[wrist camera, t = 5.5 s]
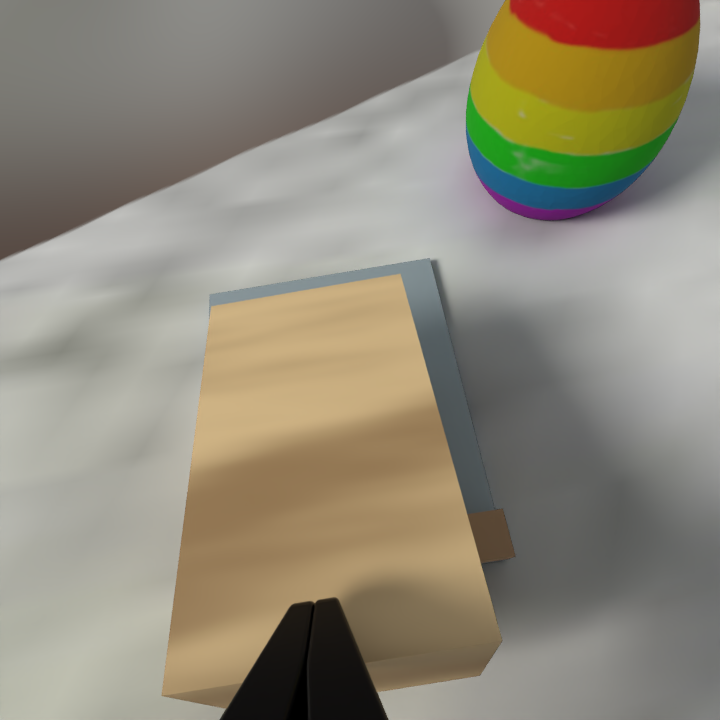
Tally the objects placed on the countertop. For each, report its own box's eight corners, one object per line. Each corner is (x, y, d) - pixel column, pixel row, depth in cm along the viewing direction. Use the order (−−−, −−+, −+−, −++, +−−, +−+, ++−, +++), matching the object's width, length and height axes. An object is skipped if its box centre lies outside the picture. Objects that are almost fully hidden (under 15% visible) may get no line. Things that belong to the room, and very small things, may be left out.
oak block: (502, 641, 8) (400, 273, 15) (161, 696, 8) (211, 306, 15) (479, 675, 12) (407, 372, 18) (248, 712, 12) (257, 398, 18)
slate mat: (506, 559, 15) (515, 556, 14) (208, 605, 16) (189, 606, 14) (429, 262, 21) (430, 240, 20) (212, 298, 21) (199, 278, 20)
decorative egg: (536, 273, 20) (637, 24, 11) (425, 169, 24) (436, -85, 15) (671, 189, 22) (854, -91, 13) (548, 102, 25) (625, -166, 16)
